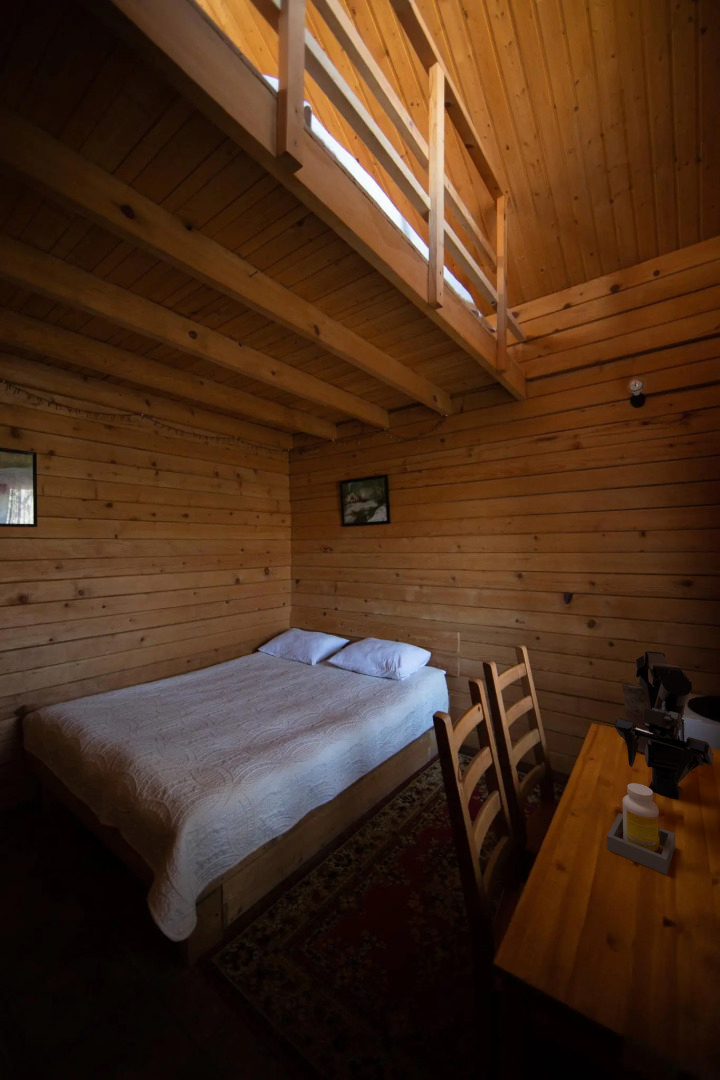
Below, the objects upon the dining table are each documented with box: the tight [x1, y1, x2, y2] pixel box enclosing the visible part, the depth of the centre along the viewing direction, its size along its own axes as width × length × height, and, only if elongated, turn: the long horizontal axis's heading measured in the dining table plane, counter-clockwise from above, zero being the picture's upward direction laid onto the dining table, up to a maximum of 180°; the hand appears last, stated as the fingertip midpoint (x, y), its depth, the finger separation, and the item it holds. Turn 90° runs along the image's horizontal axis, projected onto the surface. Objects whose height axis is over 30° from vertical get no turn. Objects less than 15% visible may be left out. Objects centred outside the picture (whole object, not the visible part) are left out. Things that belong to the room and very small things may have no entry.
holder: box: [606, 812, 676, 876], centre depth 93 cm, size 11×11×3 cm
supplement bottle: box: [622, 782, 661, 854], centre depth 93 cm, size 7×7×13 cm
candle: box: [621, 683, 649, 753], centre depth 138 cm, size 8×7×20 cm
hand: (652, 773), depth 98 cm, fingers open, 9 cm apart
